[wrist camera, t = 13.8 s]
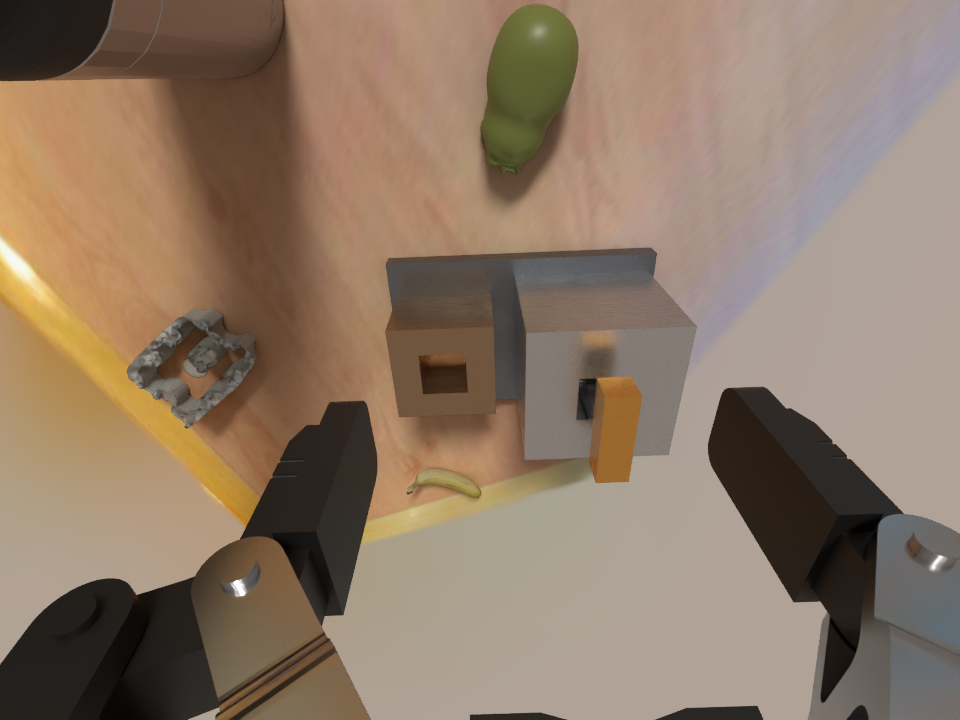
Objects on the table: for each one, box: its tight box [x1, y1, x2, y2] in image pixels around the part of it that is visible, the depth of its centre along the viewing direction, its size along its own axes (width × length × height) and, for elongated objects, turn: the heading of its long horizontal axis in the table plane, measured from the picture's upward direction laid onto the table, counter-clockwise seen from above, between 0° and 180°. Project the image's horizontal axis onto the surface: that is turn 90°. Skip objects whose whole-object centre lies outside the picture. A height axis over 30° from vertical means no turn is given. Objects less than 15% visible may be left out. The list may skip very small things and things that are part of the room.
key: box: [579, 376, 642, 483], centre depth 34 cm, size 7×2×8 cm, turn 3°
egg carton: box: [127, 308, 258, 428], centre depth 43 cm, size 11×8×4 cm
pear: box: [480, 4, 578, 174], centre depth 32 cm, size 6×5×10 cm
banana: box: [407, 469, 481, 498], centre depth 51 cm, size 8×2×4 cm, turn 72°
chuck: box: [385, 248, 697, 460], centre depth 38 cm, size 22×14×12 cm, turn 92°
